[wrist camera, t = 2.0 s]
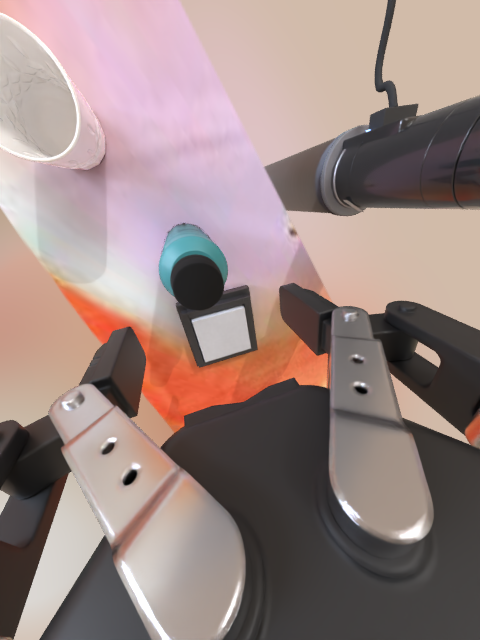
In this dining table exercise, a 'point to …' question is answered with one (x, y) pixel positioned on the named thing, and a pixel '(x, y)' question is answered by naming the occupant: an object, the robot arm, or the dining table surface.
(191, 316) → the scale
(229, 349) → the pan
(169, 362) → the dining table surface
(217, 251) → the beverage bottle
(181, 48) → the dining table surface
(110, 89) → the dining table surface
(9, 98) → the white cup
